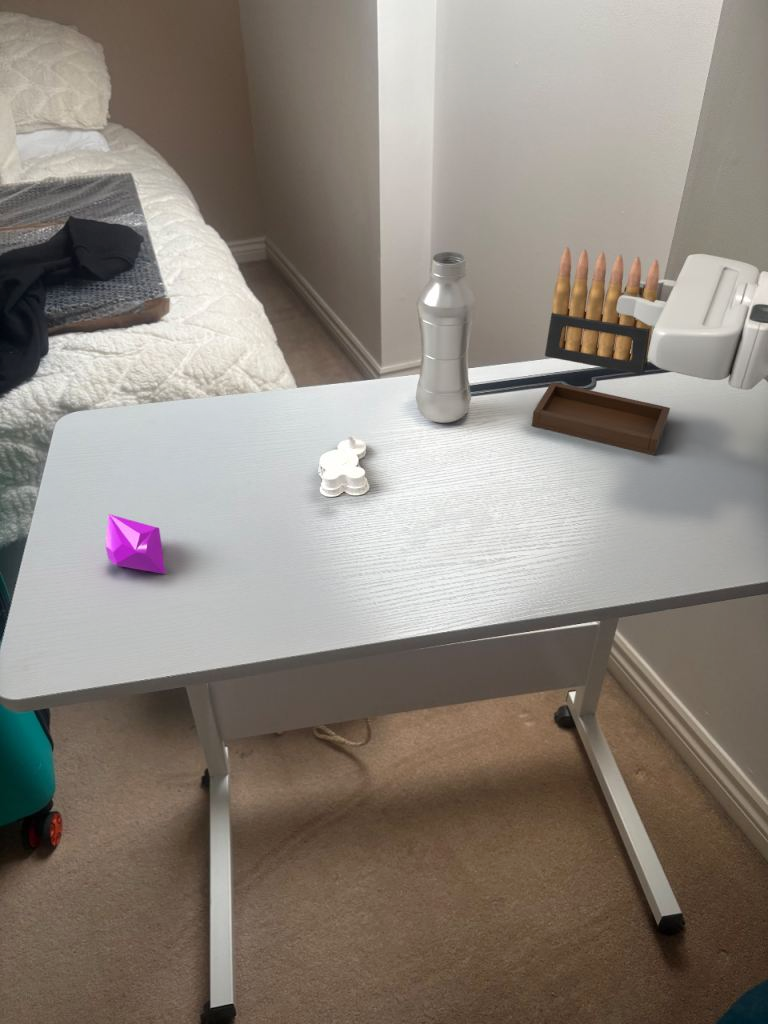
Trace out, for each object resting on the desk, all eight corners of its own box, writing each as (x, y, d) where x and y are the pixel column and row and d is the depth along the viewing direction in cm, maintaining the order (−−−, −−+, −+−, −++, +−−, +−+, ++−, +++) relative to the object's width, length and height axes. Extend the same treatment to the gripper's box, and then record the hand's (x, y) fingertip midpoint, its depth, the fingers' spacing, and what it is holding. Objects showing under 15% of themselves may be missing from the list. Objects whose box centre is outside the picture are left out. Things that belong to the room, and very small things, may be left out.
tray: (666, 422, 100) (670, 407, 99) (654, 455, 95) (657, 440, 94) (549, 396, 105) (551, 381, 104) (531, 426, 100) (533, 411, 99)
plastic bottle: (471, 429, 99) (482, 270, 87) (415, 429, 100) (418, 270, 87) (468, 401, 104) (478, 246, 92) (414, 401, 105) (417, 246, 92)
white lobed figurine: (397, 484, 91) (397, 468, 90) (327, 508, 88) (326, 492, 87) (358, 442, 98) (357, 426, 96) (291, 463, 95) (289, 447, 93)
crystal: (110, 581, 80) (99, 545, 77) (118, 544, 84) (108, 509, 81) (165, 577, 80) (156, 541, 77) (170, 540, 84) (162, 505, 81)
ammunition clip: (646, 366, 88) (668, 257, 81) (643, 374, 87) (664, 264, 80) (549, 348, 92) (560, 242, 85) (544, 356, 91) (555, 249, 83)
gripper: (785, 250, 85) (648, 230, 89) (764, 336, 70) (602, 307, 75) (768, 307, 89) (638, 285, 93) (744, 399, 74) (592, 368, 79)
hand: (621, 295), depth 84 cm, fingers closed on ammunition clip, 2 cm apart
